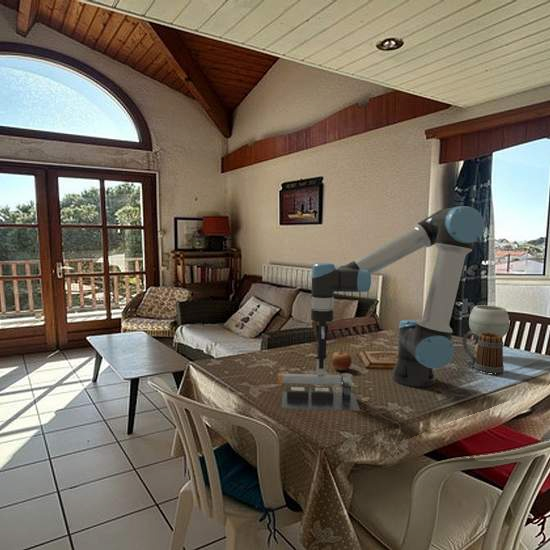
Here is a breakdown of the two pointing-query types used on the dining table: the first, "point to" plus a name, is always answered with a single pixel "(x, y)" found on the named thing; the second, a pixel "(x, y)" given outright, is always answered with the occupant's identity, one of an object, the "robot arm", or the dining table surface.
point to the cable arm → (316, 379)
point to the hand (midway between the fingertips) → (320, 376)
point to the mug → (486, 352)
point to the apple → (341, 360)
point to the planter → (489, 320)
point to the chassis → (324, 402)
